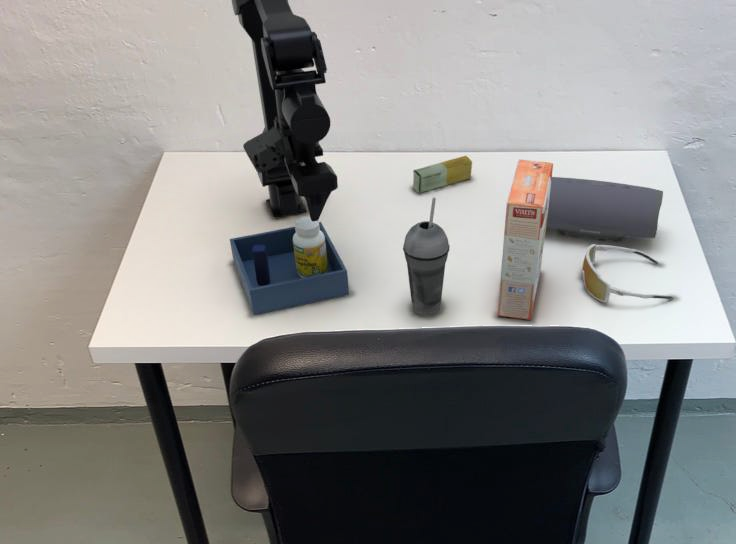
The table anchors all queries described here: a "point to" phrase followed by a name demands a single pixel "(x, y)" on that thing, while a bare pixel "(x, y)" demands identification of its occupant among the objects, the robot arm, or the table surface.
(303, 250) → the supplement bottle
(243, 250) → the storage box
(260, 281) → the eraser
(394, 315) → the table surface
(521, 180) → the cracker box
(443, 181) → the medication box
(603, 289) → the sunglasses
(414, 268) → the beverage cup
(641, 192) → the bluetooth speaker
